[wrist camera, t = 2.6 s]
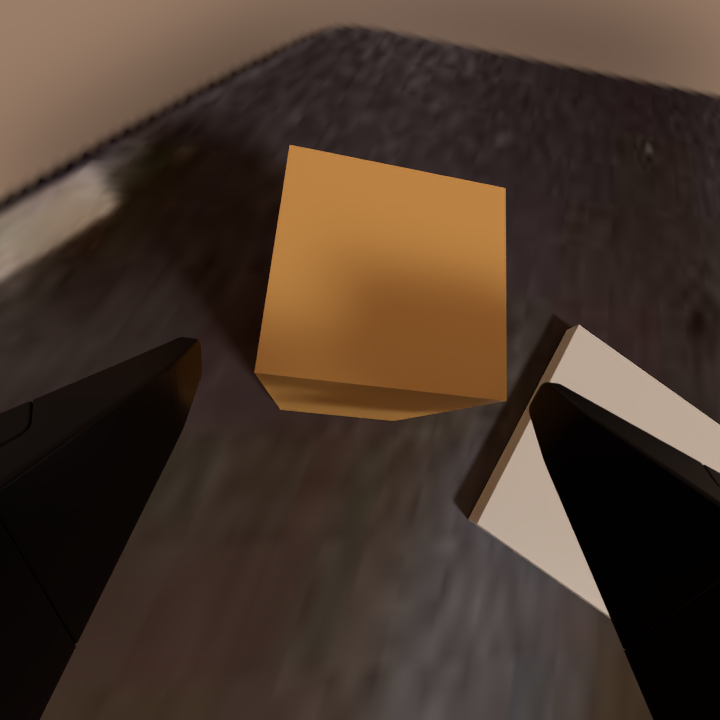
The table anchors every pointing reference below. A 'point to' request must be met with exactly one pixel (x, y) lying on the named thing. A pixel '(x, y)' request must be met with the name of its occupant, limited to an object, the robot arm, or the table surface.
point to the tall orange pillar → (384, 291)
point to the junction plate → (532, 480)
